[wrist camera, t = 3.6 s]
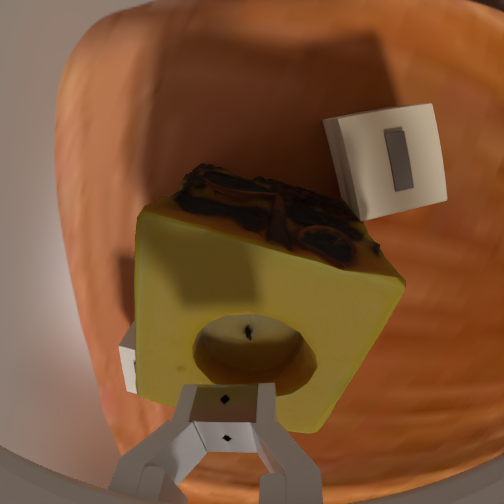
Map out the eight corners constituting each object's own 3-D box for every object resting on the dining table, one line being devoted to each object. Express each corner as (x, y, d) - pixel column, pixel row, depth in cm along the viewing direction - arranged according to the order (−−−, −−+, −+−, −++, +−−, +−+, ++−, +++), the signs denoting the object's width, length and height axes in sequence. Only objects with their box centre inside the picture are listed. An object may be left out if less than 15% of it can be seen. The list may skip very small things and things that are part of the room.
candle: (199, 160, 19) (130, 200, 9) (354, 201, 19) (418, 274, 10) (176, 296, 23) (127, 396, 14) (306, 327, 23) (317, 437, 14)
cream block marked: (203, 318, 23) (187, 364, 19) (200, 363, 25) (187, 408, 21) (143, 306, 23) (117, 347, 19) (146, 351, 25) (126, 392, 21)
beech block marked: (395, 106, 16) (433, 103, 11) (410, 180, 18) (449, 201, 13) (321, 119, 17) (338, 118, 12) (340, 197, 19) (361, 222, 14)
